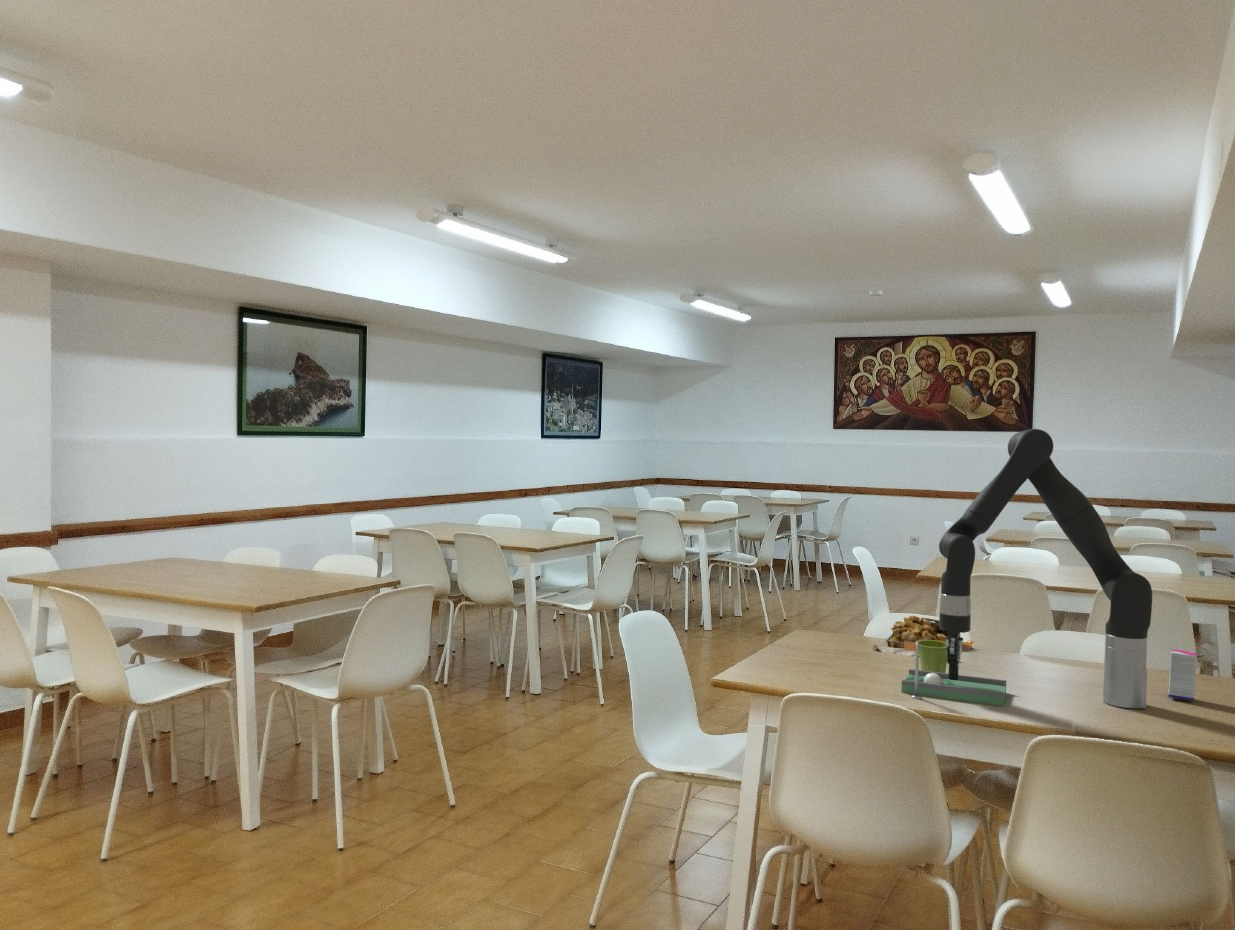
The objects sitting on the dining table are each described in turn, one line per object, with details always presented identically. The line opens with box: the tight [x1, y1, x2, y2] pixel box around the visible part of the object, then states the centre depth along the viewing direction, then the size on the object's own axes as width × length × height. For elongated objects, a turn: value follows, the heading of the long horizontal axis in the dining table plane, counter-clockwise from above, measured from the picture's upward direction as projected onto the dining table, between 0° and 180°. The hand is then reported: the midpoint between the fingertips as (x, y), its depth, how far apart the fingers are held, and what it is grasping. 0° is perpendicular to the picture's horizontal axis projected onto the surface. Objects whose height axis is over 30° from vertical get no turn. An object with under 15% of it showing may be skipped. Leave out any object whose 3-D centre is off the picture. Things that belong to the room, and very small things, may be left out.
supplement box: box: [1167, 648, 1198, 701], centre depth 241 cm, size 6×6×12 cm
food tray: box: [872, 615, 975, 657], centre depth 296 cm, size 35×26×11 cm
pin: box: [904, 641, 922, 700], centre depth 234 cm, size 4×2×14 cm, turn 65°
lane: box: [900, 668, 1007, 707], centre depth 240 cm, size 24×14×3 cm, turn 65°
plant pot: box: [917, 640, 948, 673], centre depth 258 cm, size 9×9×9 cm
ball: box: [924, 673, 942, 684], centre depth 242 cm, size 4×4×4 cm
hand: (953, 679), depth 240 cm, fingers closed
